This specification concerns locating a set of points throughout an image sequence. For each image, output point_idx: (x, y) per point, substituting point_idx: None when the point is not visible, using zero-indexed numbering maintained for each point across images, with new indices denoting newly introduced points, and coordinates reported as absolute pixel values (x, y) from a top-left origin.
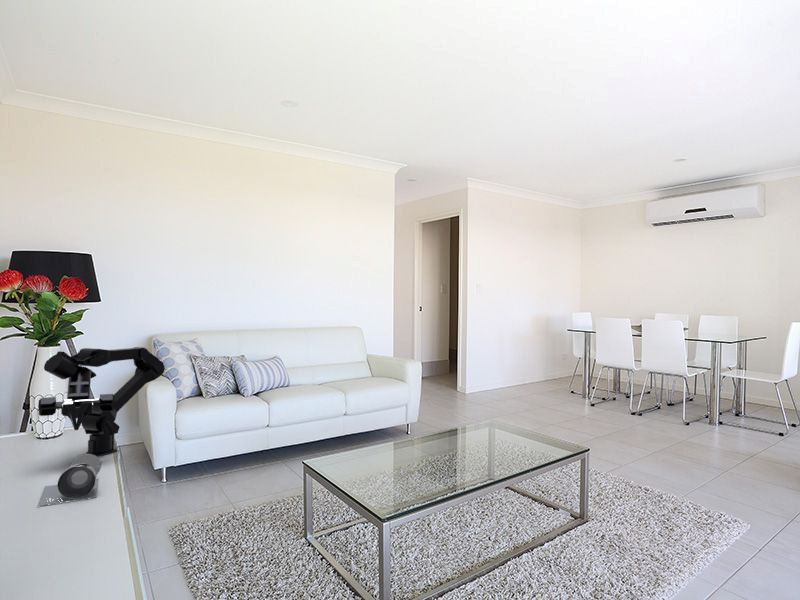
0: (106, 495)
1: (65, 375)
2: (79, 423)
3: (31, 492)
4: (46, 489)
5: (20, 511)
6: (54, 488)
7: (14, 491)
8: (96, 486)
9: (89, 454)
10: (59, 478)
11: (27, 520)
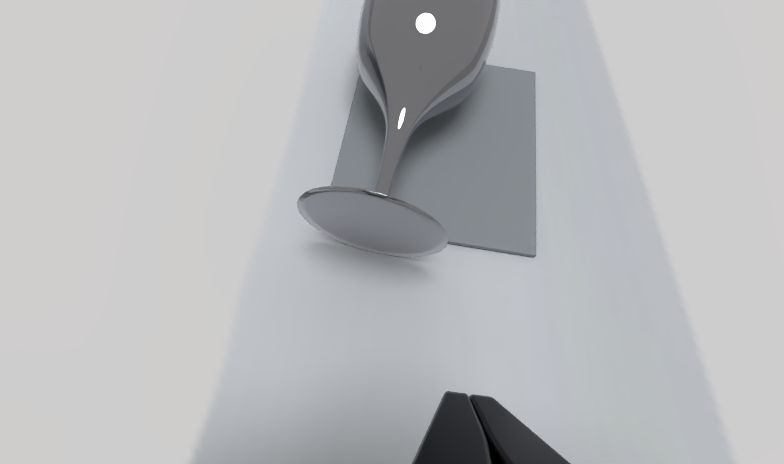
0: (335, 50)
1: None
2: (434, 418)
3: (577, 230)
4: (525, 210)
5: (575, 74)
6: (496, 205)
7: (650, 287)
8: (348, 132)
9: (353, 188)
10: (498, 2)
11: (543, 10)
